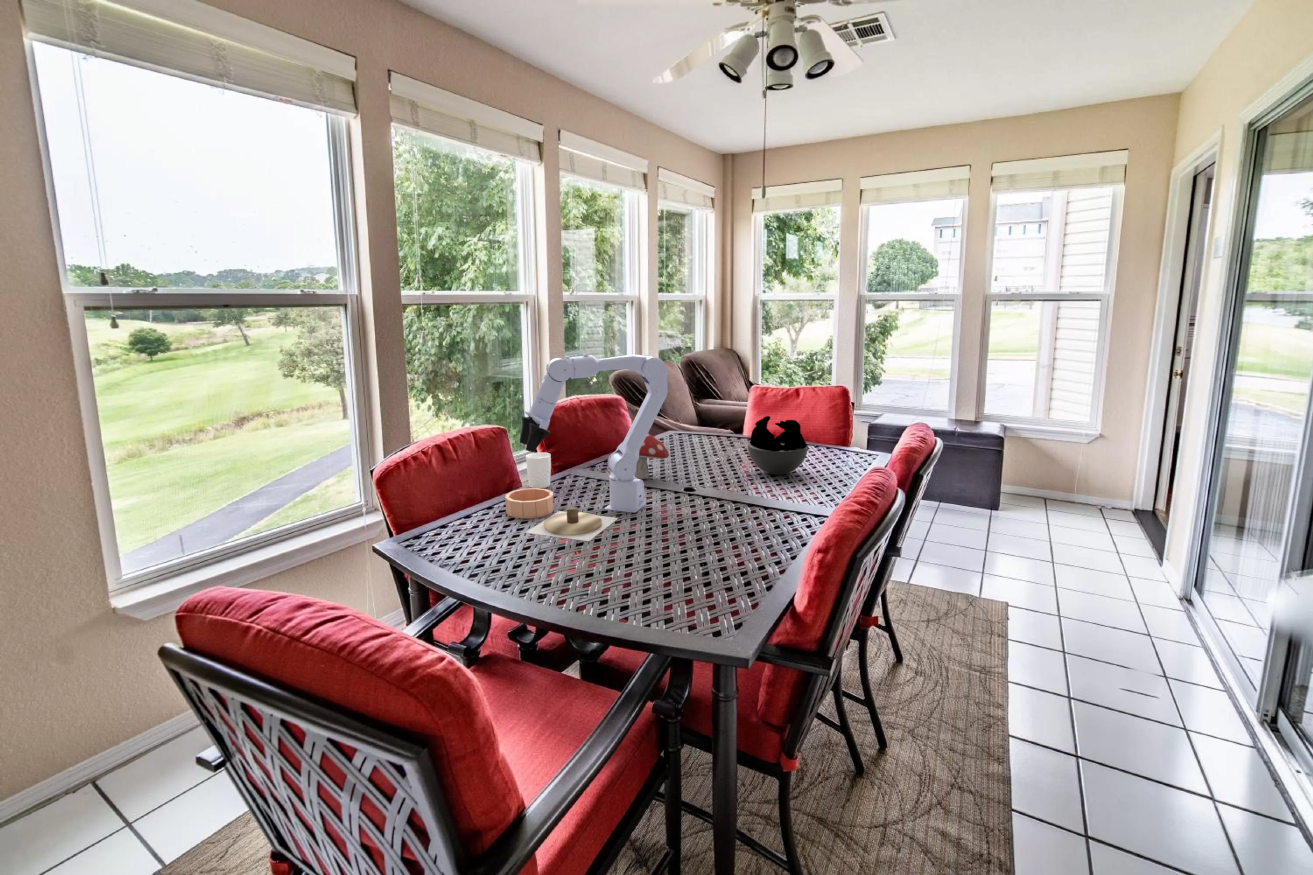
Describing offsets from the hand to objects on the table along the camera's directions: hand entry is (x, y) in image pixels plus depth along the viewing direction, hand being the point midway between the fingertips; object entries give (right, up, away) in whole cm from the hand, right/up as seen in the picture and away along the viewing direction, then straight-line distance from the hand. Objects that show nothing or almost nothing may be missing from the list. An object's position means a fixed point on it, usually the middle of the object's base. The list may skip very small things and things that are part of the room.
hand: (526, 447), depth 176 cm
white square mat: (+13, -21, -5) cm, 25 cm away
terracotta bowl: (0, -18, +8) cm, 20 cm away
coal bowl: (+76, -10, +46) cm, 89 cm away
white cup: (-2, -13, +33) cm, 36 cm away
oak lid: (+13, -20, -5) cm, 25 cm away
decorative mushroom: (+31, -11, +41) cm, 53 cm away
